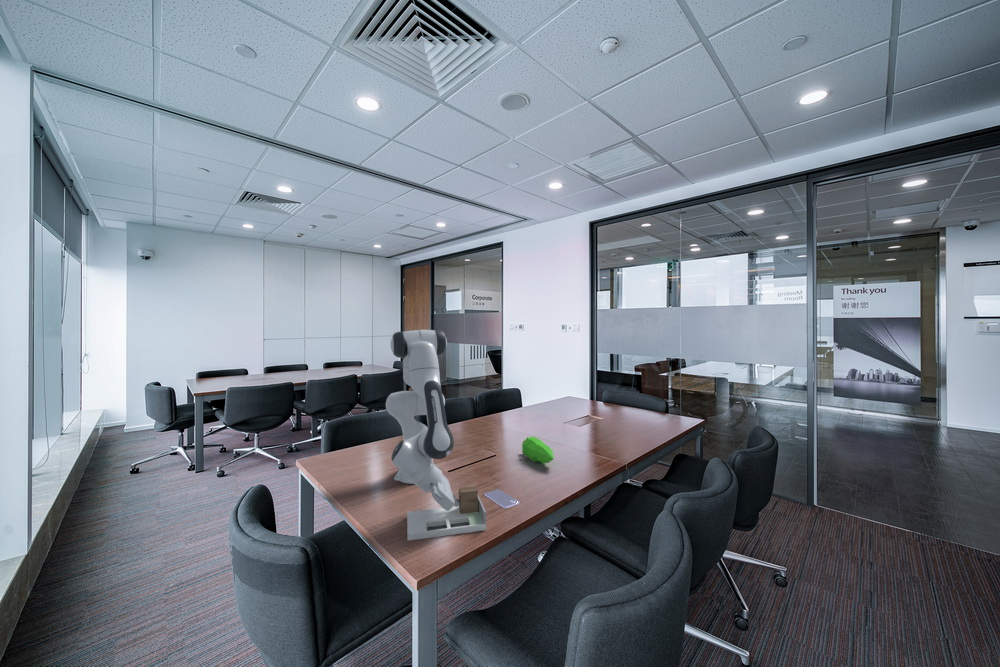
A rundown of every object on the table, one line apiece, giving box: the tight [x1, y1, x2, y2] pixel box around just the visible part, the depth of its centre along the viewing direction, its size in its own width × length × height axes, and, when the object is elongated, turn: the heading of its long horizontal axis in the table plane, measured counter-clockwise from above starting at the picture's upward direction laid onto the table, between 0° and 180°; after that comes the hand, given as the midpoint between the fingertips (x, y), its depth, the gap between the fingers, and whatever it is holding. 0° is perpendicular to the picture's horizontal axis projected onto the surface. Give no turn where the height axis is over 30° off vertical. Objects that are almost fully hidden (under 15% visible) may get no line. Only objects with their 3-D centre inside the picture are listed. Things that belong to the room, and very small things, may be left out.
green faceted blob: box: [521, 436, 554, 465], centre depth 186 cm, size 11×12×30 cm
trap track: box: [406, 494, 487, 541], centre depth 126 cm, size 15×25×6 cm, turn 104°
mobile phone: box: [483, 489, 521, 509], centre depth 145 cm, size 8×1×15 cm
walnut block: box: [458, 484, 479, 514], centre depth 131 cm, size 5×6×8 cm
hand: (457, 503), depth 131 cm, fingers closed, pressing on walnut block
